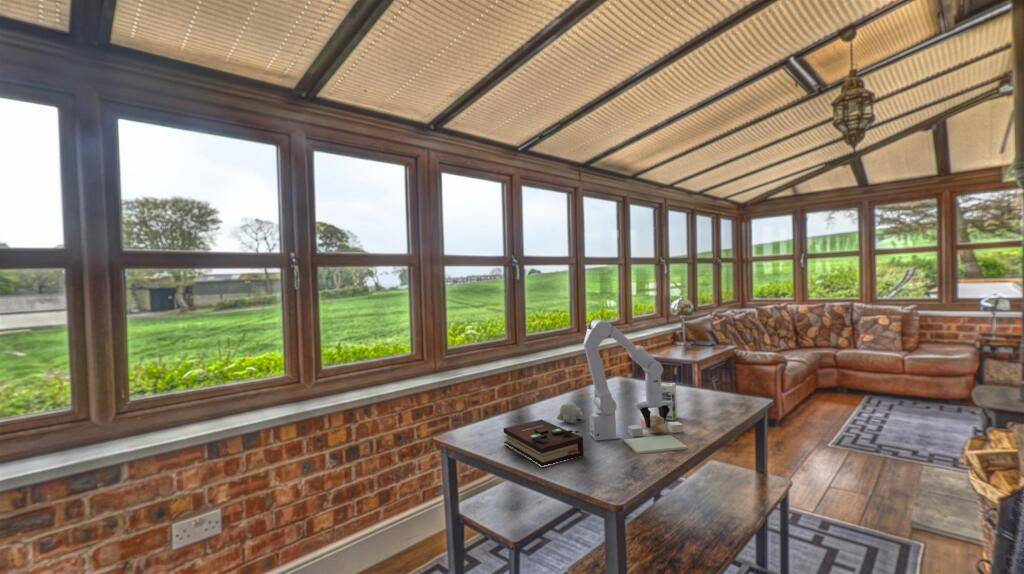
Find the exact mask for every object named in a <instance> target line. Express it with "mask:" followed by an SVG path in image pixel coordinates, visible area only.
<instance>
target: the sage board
mask: <svg viewBox="0 0 1024 574" xmlns="http://www.w3.org/2000/svg"><path fill="white" fill-rule="evenodd" d="M622 441H623V443H624V444H625V445H626V446H628V447H629V448H630V449H631V450H632V451H633V452H634V453H635V454H637V455H638V454H649V453H650V454H651V453H658V452H659V453H660V452H668V451H670V452H671V451H678V450H679V451H680V450H687V449H688V446H687V445H685V444H684V443H683V442H681V441H680V440H678V439H677V438H676V437H674V436H672V434H668V435H667V434H665V435H657V436H656V435H655V436H646V437H637V438H636V437H635V438H634V437H633V438H627V439H626V438H624V439H623V440H622Z"/></svg>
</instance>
